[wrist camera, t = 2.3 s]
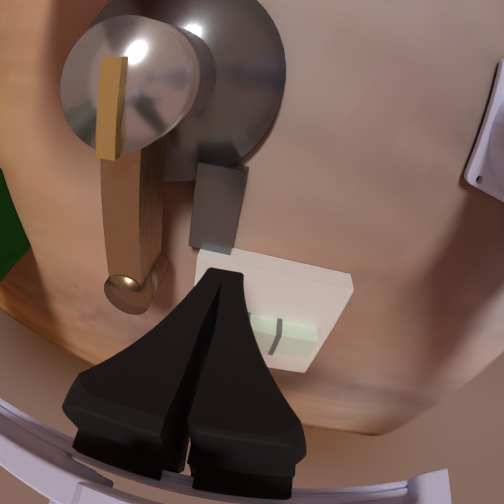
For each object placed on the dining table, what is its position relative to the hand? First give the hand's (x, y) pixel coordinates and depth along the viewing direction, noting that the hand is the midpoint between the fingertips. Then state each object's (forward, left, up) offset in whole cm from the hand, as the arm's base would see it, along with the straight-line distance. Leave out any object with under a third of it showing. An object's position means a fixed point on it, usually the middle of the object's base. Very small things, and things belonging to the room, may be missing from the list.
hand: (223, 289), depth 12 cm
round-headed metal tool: (+5, -3, -5) cm, 7 cm away
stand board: (-3, +6, -6) cm, 9 cm away
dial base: (+5, -5, -6) cm, 9 cm away
